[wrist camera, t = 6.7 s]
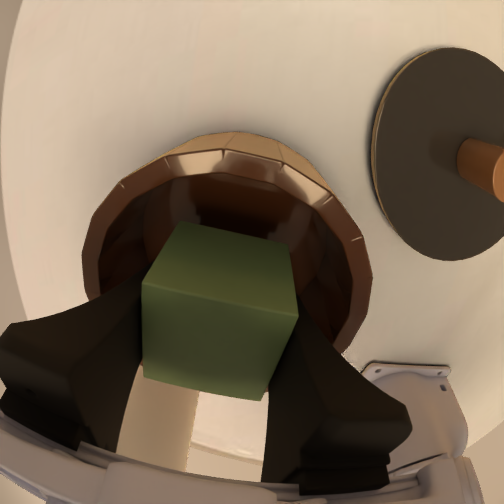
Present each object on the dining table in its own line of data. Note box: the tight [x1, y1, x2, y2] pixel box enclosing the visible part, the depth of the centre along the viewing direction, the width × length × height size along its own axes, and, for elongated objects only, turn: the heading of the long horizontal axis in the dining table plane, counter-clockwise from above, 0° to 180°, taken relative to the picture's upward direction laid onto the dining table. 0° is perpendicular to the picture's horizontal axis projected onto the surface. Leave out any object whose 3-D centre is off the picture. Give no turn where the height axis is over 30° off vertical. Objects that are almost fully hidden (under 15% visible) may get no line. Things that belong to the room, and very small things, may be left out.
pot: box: [82, 132, 373, 392], centre depth 14 cm, size 12×12×6 cm
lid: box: [371, 47, 504, 261], centre depth 12 cm, size 13×13×4 cm
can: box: [116, 365, 200, 472], centre depth 16 cm, size 6×6×12 cm
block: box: [141, 221, 299, 401], centre depth 11 cm, size 4×4×4 cm
